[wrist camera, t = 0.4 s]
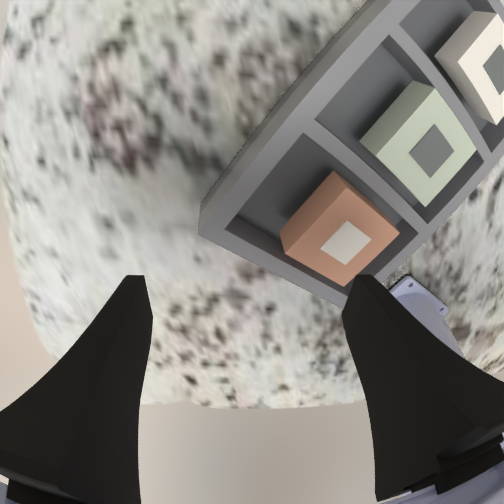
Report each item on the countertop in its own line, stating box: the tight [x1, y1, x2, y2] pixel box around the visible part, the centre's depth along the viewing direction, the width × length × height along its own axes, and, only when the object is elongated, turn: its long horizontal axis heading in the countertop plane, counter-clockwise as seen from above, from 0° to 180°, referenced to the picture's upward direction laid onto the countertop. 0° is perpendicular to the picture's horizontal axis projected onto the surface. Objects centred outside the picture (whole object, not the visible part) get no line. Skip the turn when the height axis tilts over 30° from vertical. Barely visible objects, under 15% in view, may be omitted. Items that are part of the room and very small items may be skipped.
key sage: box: [359, 80, 477, 207], centre depth 14 cm, size 4×4×2 cm
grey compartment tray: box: [198, 0, 504, 309], centre depth 15 cm, size 12×22×3 cm, turn 144°
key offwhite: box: [434, 11, 504, 125], centre depth 11 cm, size 4×4×2 cm
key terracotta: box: [279, 170, 400, 287], centre depth 17 cm, size 4×4×2 cm
